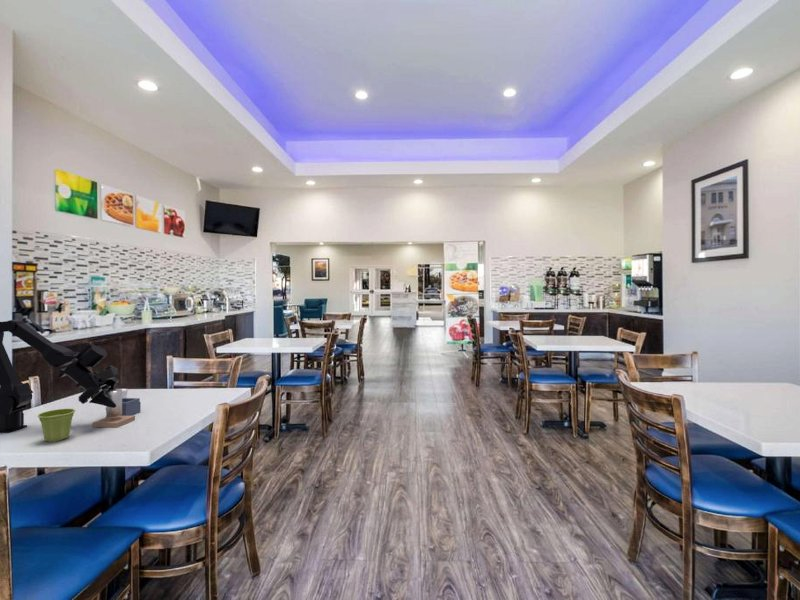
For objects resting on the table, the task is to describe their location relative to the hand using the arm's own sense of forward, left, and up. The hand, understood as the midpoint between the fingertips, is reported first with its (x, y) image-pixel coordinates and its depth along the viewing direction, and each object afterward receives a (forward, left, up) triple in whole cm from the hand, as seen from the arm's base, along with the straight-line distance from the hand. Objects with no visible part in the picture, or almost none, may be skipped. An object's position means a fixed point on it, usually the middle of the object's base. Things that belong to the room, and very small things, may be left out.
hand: (118, 405), depth 149 cm
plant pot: (-17, +7, -7) cm, 20 cm away
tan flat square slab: (0, +1, -7) cm, 7 cm away
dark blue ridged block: (+11, +6, -7) cm, 14 cm away
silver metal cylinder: (0, +1, -4) cm, 4 cm away
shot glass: (+22, +17, -7) cm, 28 cm away
